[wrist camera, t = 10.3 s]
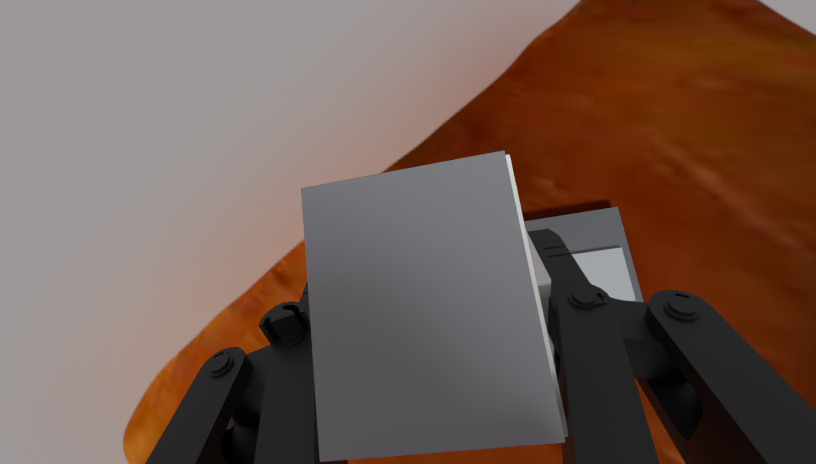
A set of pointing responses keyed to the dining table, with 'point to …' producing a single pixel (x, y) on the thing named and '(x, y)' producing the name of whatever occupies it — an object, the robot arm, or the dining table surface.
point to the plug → (427, 314)
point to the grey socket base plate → (597, 250)
